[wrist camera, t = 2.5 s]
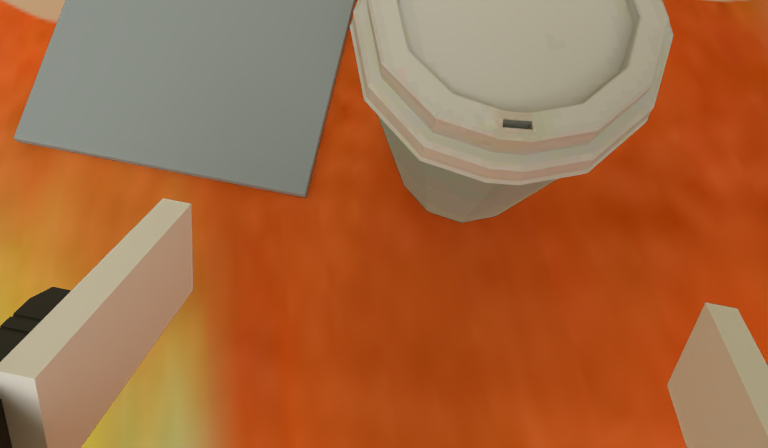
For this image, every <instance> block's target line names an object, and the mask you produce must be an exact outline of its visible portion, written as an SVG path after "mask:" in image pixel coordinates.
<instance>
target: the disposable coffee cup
mask: <svg viewBox="0 0 768 448" xmlns="http://www.w3.org/2000/svg"><path fill="white" fill-rule="evenodd" d="M669 20H670V19H669V17H668V14H667V12H666V9H665V6H664V4H663V1H662V0H358V1H357V4H356V6H355V9H354V11H353V19H352V22H351V24H350V30H351V35H352V40H353V46H354V51H355V56H356V61H357V66H358V72H359V77H360V82H361V87H362V92H363V98H364V101H365V102H366V103H367V104H368V105H369V106H370V107H371V108H372V109H373V110H374V111H375V113H376V114H377V115H378V117H379V119H380V122H381V125H382V128H383V130H384V133H385V136H386V138H387V141H388V144H389V146H390V149H391V152H392V154H393V157H394V160H395V162H396V165H397V168H398V171H399V173H400V176H401V179H402V181H403V184H404V186H405V187H406V188H407V189H408V191H409V192H410V193H411V194H412V195H413V196H414V197H415V198H416V199H417V201H418V202H419V203H420V204H421V205H422V206H423V207H424V208H425V209H426V210H427V211H428V212H431V213H434V214H437V215H440V216H442V217H445V218H448V219H451V220H454V221H457V222H460V223H462V222H468V221H473V220H479V219H484V218H490V217H495V216H497V215H499V214H500V213H502V212H504V211H505V210H507V209H509V208H510V207H512V206H514V205H515V204H517V203H519V202H520V201H522V200H524V199H525V198H527V197H529V196H530V195H532V194H533V193H535V192H537V191H538V190H540V189H542V188H543V187H545V186H547V185H548V184H550V183H552V182H553V181H555V180H557V179H558V178H564V177H570V176H575V175H581V174H586V173H588V172H589V171H590V170H592V169H593V168H594V167H595V166H596V165H597V164H599V163H600V162H601V161H602V160H603V159H604V158H605V157H607V156H608V155H609V154H610V153H611V152H612V151H614V150H615V149H616V148H617V147H618V146H619V145H620V144H622V143H623V142H624V141H625V140H626V139H627V138H629V137H630V136H631V135H632V134H633V133H634V132H635V131H637V130H638V129H639V128H640V127H641V126H642V125H644V124H645V123H646V122H647V121H648V117H649V113H650V112H651V111H652V109H653V108H654V105H655V102H656V98H657V94H658V91H659V87H660V83H661V79H662V76H663V72H664V68H665V65H666V61H667V57H668V54H669V50H670V46H671V43H672V39H673V32H672V29H671V26H670V23H669Z"/></svg>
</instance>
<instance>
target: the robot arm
mask: <svg viewBox="0 0 768 448" xmlns="http://www.w3.org/2000/svg"><path fill="white" fill-rule="evenodd" d="M192 291H193V256H192V207H191V203H185V202H180V201H175V200H170V199H164V198H163V199H162V200H161V201H160V202H159V203H158V204H157V205H156V206H155V207H154V208H153V209H152V210H151V211H150V212H149V213H148V214H147V215H146V216H145V217H144V218H143V219H142V220H141V221H140V222H139V223H138V224H137V225H136V226H135V227H134V228H133V229H132V230H131V231H130V232H129V233H128V234H127V235H126V236H125V237H124V238H123V239H122V240H121V241H120V242H119V243H118V244H117V245H116V246H115V247H114V248H113V249H112V250H111V251H110V252H109V253H108V254H107V255H106V256H105V257H104V258H103V259H102V260H101V261H100V262H99V263H98V264H97V265H96V266H95V267H94V268H93V269H92V270H91V271H90V272H89V273H88V274H87V275H86V276H85V277H84V278H83V279H82V280H81V281H80V282H79V283H78V284H77V285H76V286H75V287H74V288H73V289H72V290H71V291H70V290H65V289H61V288H56V287H52V288H50V289H48V290H46V291H44V292H42V293H40V294H38V295H36V296H34V297H32V298H30V299H29V300H28V301H27V302H25V303H24V304H23V305H22V306H21V307H20V308H19V309H18V310H17V311H16V312H15V313H14V315H13V317H9V318H8V319H7V320H6V321H5V322H4V323H3V324H2V325H1V326H0V448H81V447H82V445H83V444H84V442H85V441H86V439H87V438H88V437H89V435H90V434H91V432H92V431H93V430H94V428H95V427H96V425H97V424H98V423H99V421H100V420H101V418H102V417H103V416H104V414H105V413H106V411H107V410H108V409H109V407H110V406H111V404H112V403H113V402H114V400H115V399H116V397H117V396H118V395H119V393H120V392H121V390H122V389H123V388H124V386H125V385H126V383H127V382H128V381H129V379H130V378H131V376H132V375H133V374H134V372H135V371H136V369H137V368H138V366H139V365H140V364H141V362H142V361H143V359H144V358H145V357H146V355H147V354H148V352H149V351H150V350H151V348H152V347H153V345H154V344H155V343H156V341H157V340H158V338H159V337H160V336H161V334H162V333H163V331H164V330H165V329H166V327H167V326H168V324H169V323H170V322H171V320H172V319H173V317H174V316H175V315H176V313H177V312H178V310H179V309H180V308H181V306H182V305H183V303H184V302H185V301H186V299H187V298H188V296H189V295H190V294H191V292H192ZM667 387H668V390H669V393H670V396H671V399H672V402H673V406H674V409H675V412H676V415H677V418H678V421H679V424H680V428H681V431H682V434H683V437H684V440H685V443H686V446H687V448H768V366H767V364H766V362H765V360H764V358H763V356H762V354H761V352H760V350H759V349H758V347H757V345H756V343H755V341H754V339H753V337H752V335H751V333H750V332H749V330H748V328H747V326H746V324H745V322H744V320H743V318H742V316H741V314H740V313H739V311H738V309H737V308H732V307H727V306H722V305H716V304H711V303H705V305H704V307H703V309H702V311H701V313H700V315H699V318H698V320H697V322H696V324H695V326H694V328H693V330H692V333H691V335H690V337H689V339H688V341H687V343H686V345H685V348H684V350H683V352H682V354H681V356H680V358H679V361H678V363H677V365H676V367H675V369H674V371H673V373H672V376H671V378H670V380H669V382H668V384H667Z"/></svg>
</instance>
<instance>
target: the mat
mask: <svg viewBox="0 0 768 448" xmlns="http://www.w3.org/2000/svg"><path fill="white" fill-rule="evenodd" d="M354 4H355V0H65V3H64V6H63V8H62V11H61V14H60V17H59V19H58V22H57V24H56V27H55V30H54V32H53V35H52V37H51V40H50V43H49V45H48V48H47V51H46V53H45V56H44V59H43V61H42V64H41V67H40V69H39V72H38V75H37V77H36V80H35V83H34V85H33V88H32V91H31V93H30V96H29V98H28V101H27V104H26V106H25V109H24V112H23V114H22V117H21V120H20V122H19V125H18V128H17V130H16V133H15V136H14V139H15V140H17V141H18V142H22V143H27V144H32V145H38V146H43V147H48V148H53V149H58V150H63V151H68V152H73V153H79V154H84V155H89V156H94V157H99V158H104V159H109V160H114V161H119V162H125V163H130V164H135V165H140V166H145V167H150V168H155V169H160V170H166V171H171V172H176V173H181V174H186V175H191V176H196V177H201V178H206V179H212V180H217V181H222V182H227V183H232V184H237V185H242V186H247V187H252V188H258V189H263V190H268V191H273V192H278V193H283V194H288V195H293V196H299V197H304V198H306V196H307V192H308V188H309V184H310V180H311V176H312V172H313V168H314V164H315V160H316V156H317V152H318V148H319V144H320V140H321V136H322V132H323V128H324V124H325V120H326V116H327V112H328V108H329V104H330V100H331V96H332V92H333V88H334V84H335V80H336V76H337V72H338V68H339V64H340V60H341V56H342V52H343V48H344V44H345V40H346V36H347V32H348V28H349V24H350V20H351V16H352V12H353V8H354Z"/></svg>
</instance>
